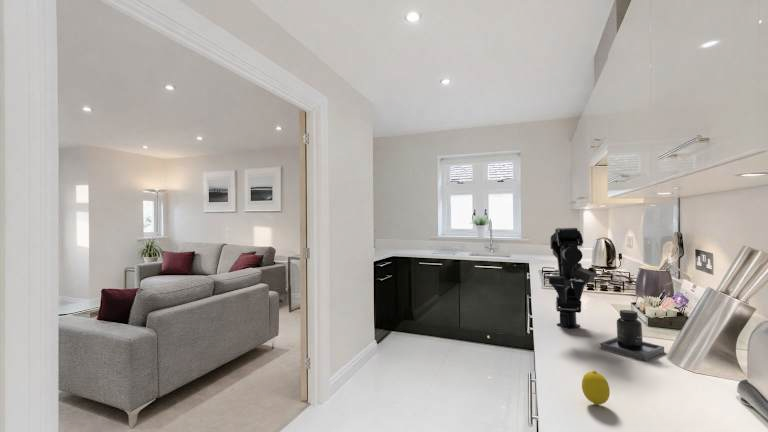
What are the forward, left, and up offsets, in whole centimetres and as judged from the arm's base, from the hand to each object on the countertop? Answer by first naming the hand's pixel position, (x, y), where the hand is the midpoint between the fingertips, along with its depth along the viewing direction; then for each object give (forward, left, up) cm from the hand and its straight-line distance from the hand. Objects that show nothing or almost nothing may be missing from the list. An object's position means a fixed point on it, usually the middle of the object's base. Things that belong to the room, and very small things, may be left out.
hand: (571, 301), depth 126 cm
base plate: (-1, +19, -13) cm, 23 cm away
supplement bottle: (-1, +19, -12) cm, 22 cm away
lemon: (+43, +31, -13) cm, 55 cm away
